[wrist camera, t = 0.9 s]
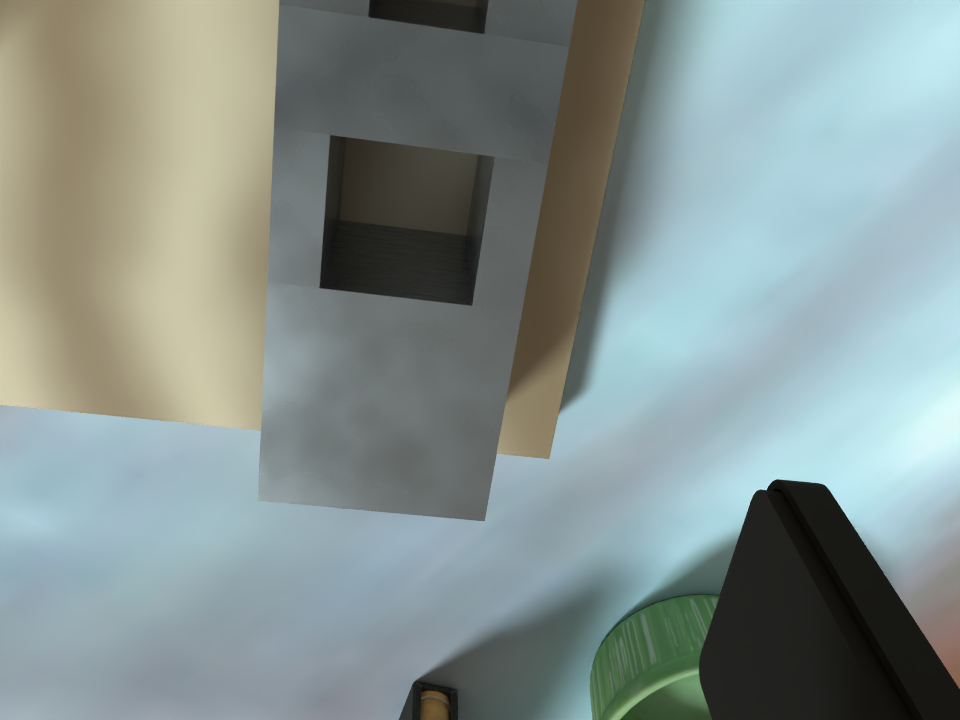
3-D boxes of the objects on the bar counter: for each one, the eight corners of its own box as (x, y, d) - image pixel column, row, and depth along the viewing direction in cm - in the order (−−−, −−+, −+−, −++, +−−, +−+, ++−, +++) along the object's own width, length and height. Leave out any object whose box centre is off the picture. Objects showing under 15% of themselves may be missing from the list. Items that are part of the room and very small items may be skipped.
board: (663, -171, 24) (761, -197, 16) (542, 426, 32) (573, 582, 24) (-537, -377, 21) (-1045, -517, 14) (-336, 337, 29) (-590, 483, 22)
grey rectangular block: (477, 425, 29) (484, 521, 25) (285, 405, 28) (258, 500, 24) (571, -145, 22) (605, -154, 18) (319, -187, 21) (288, -208, 17)
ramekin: (580, 753, 39) (596, 848, 35) (571, 591, 35) (588, 678, 31) (789, 732, 39) (829, 826, 35) (805, 568, 35) (851, 653, 31)
